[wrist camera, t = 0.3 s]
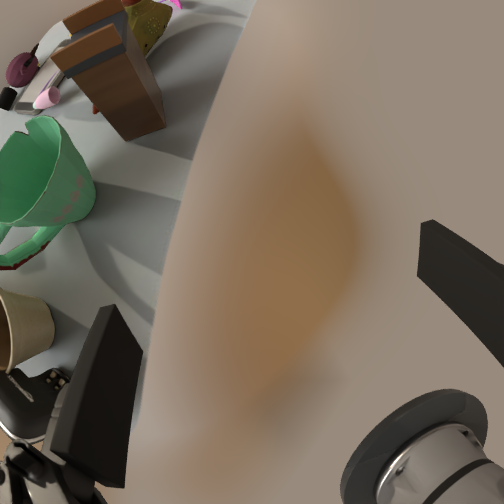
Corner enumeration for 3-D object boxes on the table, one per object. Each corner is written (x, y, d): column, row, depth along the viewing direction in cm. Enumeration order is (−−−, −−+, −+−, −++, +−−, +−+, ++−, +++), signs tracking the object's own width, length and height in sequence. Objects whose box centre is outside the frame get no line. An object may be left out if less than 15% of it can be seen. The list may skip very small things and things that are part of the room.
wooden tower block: (166, 127, 28) (124, 51, 16) (125, 141, 28) (70, 76, 16) (161, 91, 28) (125, 17, 16) (123, 105, 28) (77, 39, 16)
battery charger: (99, 393, 24) (23, 422, 12) (91, 419, 23) (20, 453, 12) (54, 357, 25) (-23, 365, 14) (47, 383, 24) (-25, 398, 13)
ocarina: (115, 122, 28) (73, 70, 18) (83, 118, 28) (41, 73, 18) (189, 17, 30) (176, -34, 20) (158, 17, 30) (141, -30, 21)
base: (126, 51, 16) (112, 25, 13) (67, 79, 16) (49, 57, 13) (128, 15, 16) (117, -8, 14) (76, 39, 16) (62, 19, 13)
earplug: (31, 108, 25) (43, 121, 27) (184, -9, 28) (191, 5, 30) (27, 99, 28) (37, 109, 31) (159, -4, 31) (165, 7, 34)
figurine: (3, 110, 26) (43, 40, 24) (-24, 98, 23) (14, 32, 21) (25, 117, 33) (60, 56, 32) (-1, 105, 30) (32, 47, 29)
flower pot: (11, 281, 26) (-39, 278, 17) (63, 281, 26) (8, 278, 17) (17, 357, 25) (-30, 369, 16) (71, 368, 25) (21, 389, 16)
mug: (79, 146, 28) (30, 104, 18) (133, 180, 27) (82, 134, 17) (19, 251, 26) (-40, 237, 16) (63, 300, 25) (-4, 300, 16)
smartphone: (89, 36, 29) (34, 111, 28) (92, 40, 31) (38, 115, 29) (62, 39, 30) (12, 110, 28) (65, 43, 31) (15, 113, 29)
